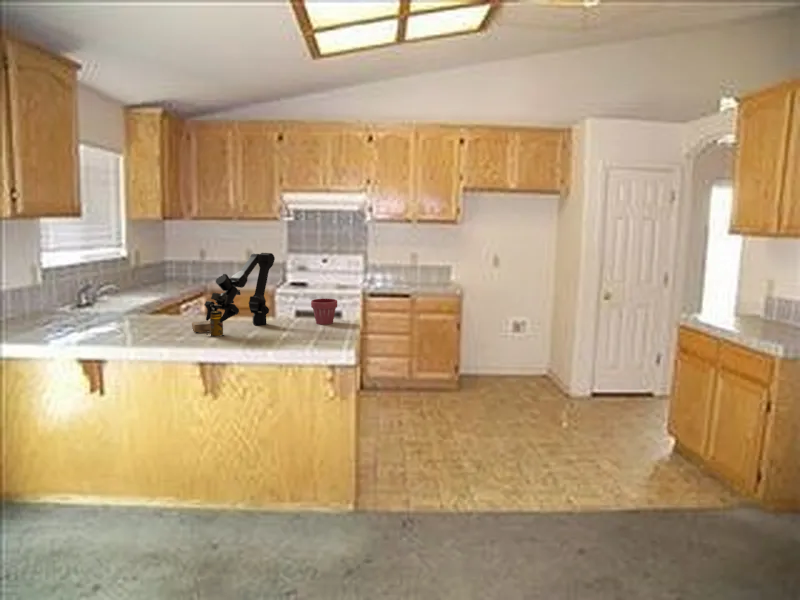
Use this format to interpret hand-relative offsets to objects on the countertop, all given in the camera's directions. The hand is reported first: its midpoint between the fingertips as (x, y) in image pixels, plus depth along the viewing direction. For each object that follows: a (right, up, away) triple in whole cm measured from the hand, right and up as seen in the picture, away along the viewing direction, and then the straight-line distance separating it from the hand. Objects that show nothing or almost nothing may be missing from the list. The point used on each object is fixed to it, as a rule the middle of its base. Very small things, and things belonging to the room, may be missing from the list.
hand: (213, 321), depth 322 cm
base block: (-9, -5, +13) cm, 17 cm away
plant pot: (+51, -3, +36) cm, 62 cm away
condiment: (0, -7, +2) cm, 8 cm away
